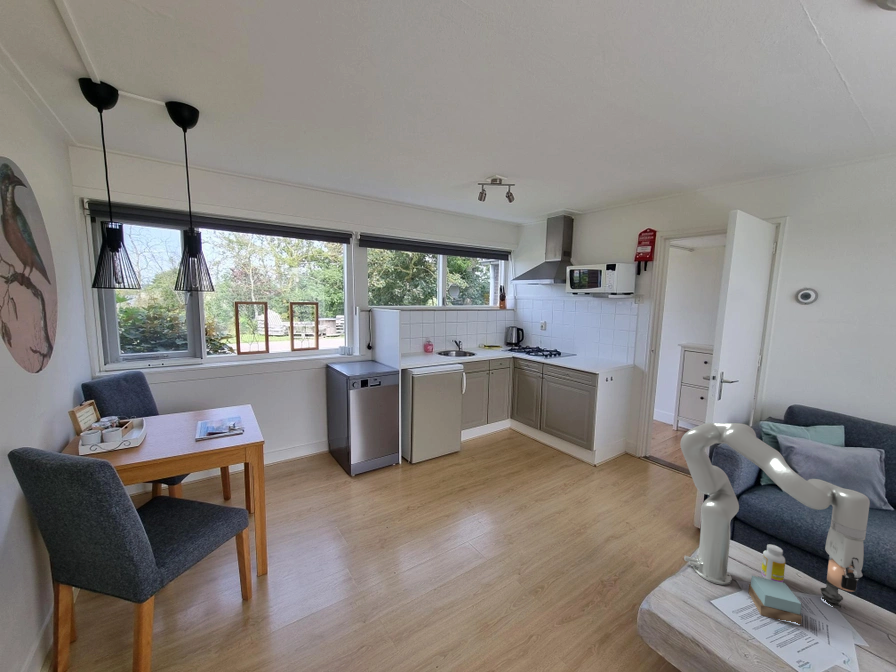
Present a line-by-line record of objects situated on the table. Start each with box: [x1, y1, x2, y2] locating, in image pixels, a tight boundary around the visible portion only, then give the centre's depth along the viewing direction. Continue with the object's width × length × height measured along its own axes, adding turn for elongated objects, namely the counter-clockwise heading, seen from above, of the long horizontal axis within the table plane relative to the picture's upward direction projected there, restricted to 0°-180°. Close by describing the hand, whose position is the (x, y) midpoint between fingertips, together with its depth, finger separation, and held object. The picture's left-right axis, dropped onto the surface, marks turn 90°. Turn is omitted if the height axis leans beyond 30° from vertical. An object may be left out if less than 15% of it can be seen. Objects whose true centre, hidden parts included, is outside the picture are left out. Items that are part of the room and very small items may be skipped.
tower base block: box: [748, 583, 803, 625], centre depth 128 cm, size 11×11×4 cm
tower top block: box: [750, 575, 802, 615], centre depth 128 cm, size 10×10×4 cm
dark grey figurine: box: [819, 579, 844, 610], centre depth 132 cm, size 6×6×12 cm
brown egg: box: [826, 559, 858, 592], centre depth 116 cm, size 6×6×6 cm
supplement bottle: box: [760, 543, 786, 583], centre depth 143 cm, size 7×7×13 cm
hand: (841, 580), depth 116 cm, fingers closed on brown egg, 6 cm apart
